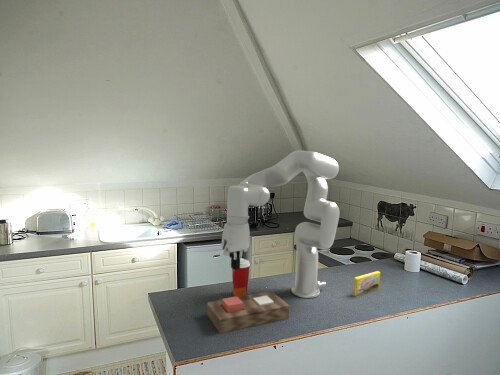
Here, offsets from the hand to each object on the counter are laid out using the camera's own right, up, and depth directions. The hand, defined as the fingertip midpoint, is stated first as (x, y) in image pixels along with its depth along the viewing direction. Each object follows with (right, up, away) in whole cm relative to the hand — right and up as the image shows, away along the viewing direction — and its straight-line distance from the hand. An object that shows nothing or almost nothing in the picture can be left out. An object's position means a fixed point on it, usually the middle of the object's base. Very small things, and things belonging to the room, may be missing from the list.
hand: (235, 268), depth 133 cm
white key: (+11, -17, +8) cm, 21 cm away
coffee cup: (+1, -17, +25) cm, 30 cm away
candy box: (+58, -18, +30) cm, 68 cm away
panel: (+5, -20, +5) cm, 21 cm away
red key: (-1, -15, +2) cm, 16 cm away
